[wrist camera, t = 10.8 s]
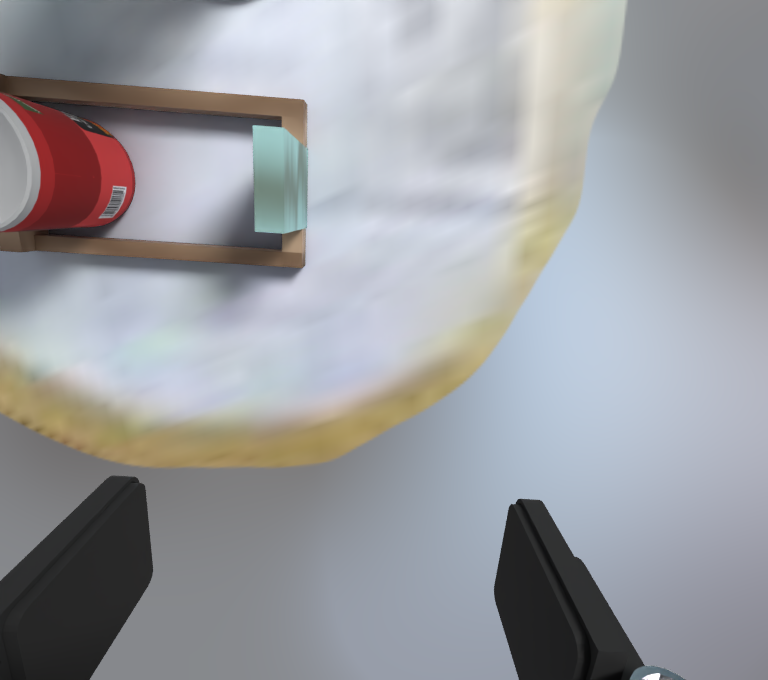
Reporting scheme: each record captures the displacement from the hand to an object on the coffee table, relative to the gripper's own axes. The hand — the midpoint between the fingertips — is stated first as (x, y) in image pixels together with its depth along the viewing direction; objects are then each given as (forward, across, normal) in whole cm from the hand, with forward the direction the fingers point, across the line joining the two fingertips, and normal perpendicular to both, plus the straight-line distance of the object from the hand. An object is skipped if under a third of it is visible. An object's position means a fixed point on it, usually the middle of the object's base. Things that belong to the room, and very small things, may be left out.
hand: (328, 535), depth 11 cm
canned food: (+27, +22, -9) cm, 37 cm away
